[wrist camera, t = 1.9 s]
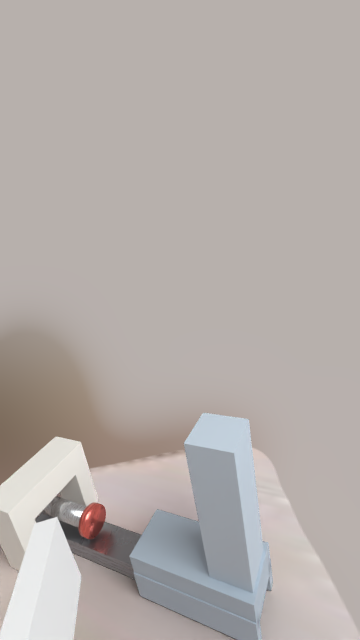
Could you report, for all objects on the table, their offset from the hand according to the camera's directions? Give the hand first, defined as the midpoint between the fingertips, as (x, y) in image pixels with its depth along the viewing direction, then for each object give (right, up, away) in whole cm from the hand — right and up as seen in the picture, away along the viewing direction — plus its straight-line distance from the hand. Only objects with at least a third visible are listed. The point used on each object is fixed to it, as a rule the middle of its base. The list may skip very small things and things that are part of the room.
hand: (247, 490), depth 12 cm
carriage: (0, -18, +19) cm, 26 cm away
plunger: (-15, -16, +25) cm, 33 cm away
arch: (-17, -18, +27) cm, 37 cm away
